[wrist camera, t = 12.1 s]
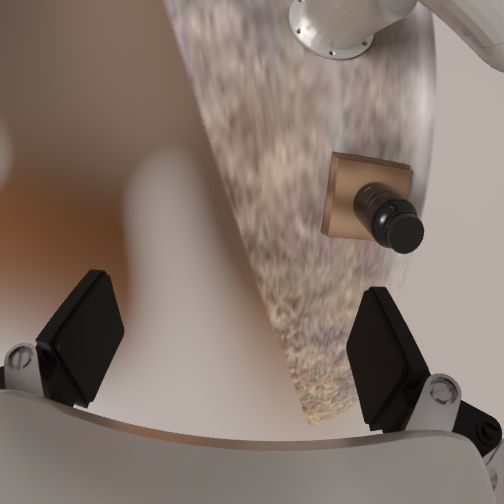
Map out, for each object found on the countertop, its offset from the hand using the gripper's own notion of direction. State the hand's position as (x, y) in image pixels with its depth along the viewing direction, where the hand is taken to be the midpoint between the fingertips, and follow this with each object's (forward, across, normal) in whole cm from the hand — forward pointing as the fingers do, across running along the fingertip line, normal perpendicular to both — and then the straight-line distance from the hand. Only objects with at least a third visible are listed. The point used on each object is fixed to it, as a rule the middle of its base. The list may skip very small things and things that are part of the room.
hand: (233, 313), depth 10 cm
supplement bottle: (+32, -18, +5) cm, 37 cm away
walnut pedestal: (+34, -18, +5) cm, 39 cm away
